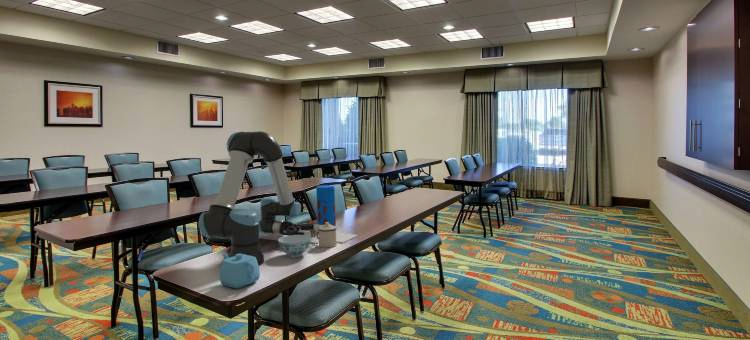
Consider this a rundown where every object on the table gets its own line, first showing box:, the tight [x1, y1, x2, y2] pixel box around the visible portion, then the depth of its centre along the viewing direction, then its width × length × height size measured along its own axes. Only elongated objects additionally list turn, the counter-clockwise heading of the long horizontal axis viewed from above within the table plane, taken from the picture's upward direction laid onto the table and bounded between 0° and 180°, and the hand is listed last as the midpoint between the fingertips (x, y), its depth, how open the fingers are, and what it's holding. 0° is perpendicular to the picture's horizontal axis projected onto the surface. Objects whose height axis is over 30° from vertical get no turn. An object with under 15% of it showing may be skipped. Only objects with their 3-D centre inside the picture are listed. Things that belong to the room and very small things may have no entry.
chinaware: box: [277, 235, 312, 258], centre depth 191 cm, size 15×15×8 cm
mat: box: [336, 232, 359, 244], centre depth 221 cm, size 16×14×1 cm
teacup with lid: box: [314, 222, 337, 249], centre depth 208 cm, size 12×9×12 cm
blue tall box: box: [315, 184, 337, 228], centre depth 244 cm, size 11×11×25 cm
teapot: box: [219, 252, 261, 289], centre depth 157 cm, size 12×18×12 cm
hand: (317, 231), depth 210 cm, fingers open, 13 cm apart
